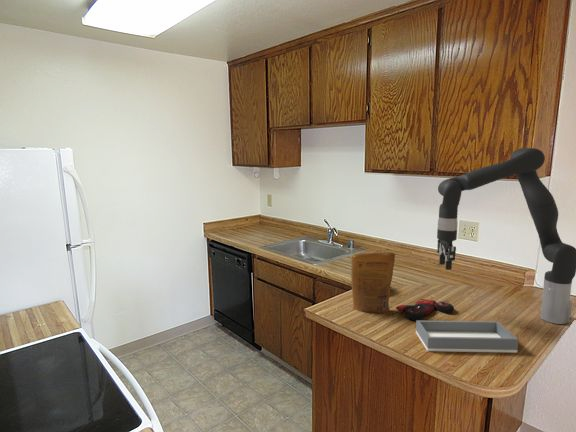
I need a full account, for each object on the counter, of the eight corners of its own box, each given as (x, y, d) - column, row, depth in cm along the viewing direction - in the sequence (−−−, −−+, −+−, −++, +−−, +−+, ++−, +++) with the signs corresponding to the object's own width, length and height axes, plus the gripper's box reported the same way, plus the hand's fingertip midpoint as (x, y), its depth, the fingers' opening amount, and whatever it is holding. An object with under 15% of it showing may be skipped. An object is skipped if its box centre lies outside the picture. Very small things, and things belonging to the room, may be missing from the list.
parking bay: (496, 333, 140) (497, 321, 139) (517, 352, 126) (518, 339, 126) (415, 332, 142) (416, 320, 141) (427, 351, 128) (428, 338, 127)
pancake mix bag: (394, 316, 156) (396, 254, 152) (350, 314, 159) (351, 253, 154) (391, 310, 163) (394, 250, 159) (349, 308, 165) (350, 249, 161)
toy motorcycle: (456, 315, 159) (429, 297, 173) (458, 304, 158) (431, 288, 172) (413, 328, 149) (388, 308, 163) (415, 317, 148) (389, 298, 162)
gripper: (463, 231, 142) (461, 272, 145) (449, 225, 156) (447, 262, 159) (444, 231, 142) (442, 272, 145) (432, 225, 157) (430, 262, 159)
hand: (445, 266), depth 152 cm, fingers open, 6 cm apart
